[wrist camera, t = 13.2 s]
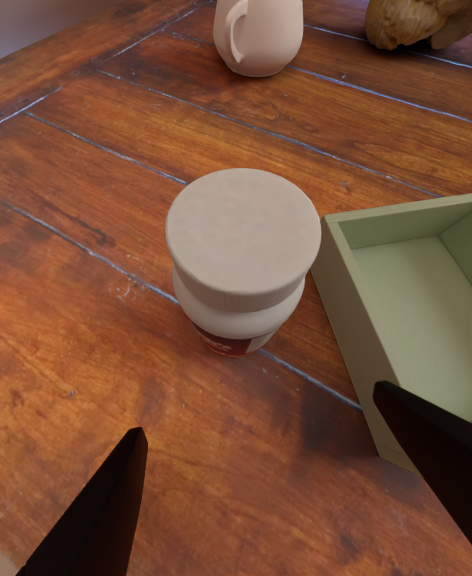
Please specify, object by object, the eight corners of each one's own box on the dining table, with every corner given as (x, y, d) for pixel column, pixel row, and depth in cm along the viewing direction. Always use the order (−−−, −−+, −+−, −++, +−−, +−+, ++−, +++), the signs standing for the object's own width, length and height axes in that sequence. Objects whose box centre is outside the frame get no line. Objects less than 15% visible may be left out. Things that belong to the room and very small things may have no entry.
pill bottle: (180, 319, 17) (104, 222, 7) (234, 269, 19) (237, 134, 9) (237, 377, 16) (248, 362, 5) (290, 316, 18) (374, 219, 7)
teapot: (247, 26, 38) (252, -89, 29) (315, 42, 36) (344, -75, 27) (188, 81, 31) (169, -49, 22) (269, 105, 29) (287, -26, 20)
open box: (560, 409, 15) (692, 420, 11) (379, 457, 14) (447, 491, 10) (436, 230, 21) (489, 190, 17) (302, 251, 20) (323, 214, 16)
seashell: (376, 38, 43) (338, 35, 36) (426, -65, 34) (389, -97, 27) (460, 72, 38) (436, 77, 31) (543, -37, 29) (537, -66, 22)
